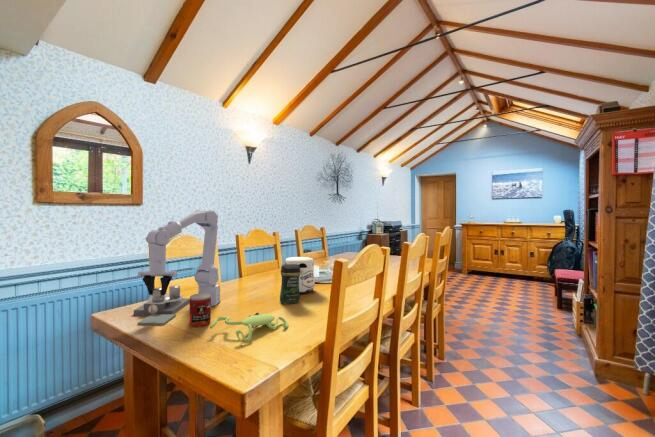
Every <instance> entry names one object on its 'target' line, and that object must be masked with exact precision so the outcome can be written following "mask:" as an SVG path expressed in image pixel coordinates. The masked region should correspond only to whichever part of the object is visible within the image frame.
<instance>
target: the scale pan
mask: <svg viewBox="0 0 655 437" xmlns="http://www.w3.org/2000/svg"><path fill="white" fill-rule="evenodd" d="M182 298H183V294H181V293H180V298H178V299H169V293H166V294H165V301H163V302H166V303H171V302H175V301H178V300H180V299H182ZM147 302H152V296H150V297H148V298H147Z"/></svg>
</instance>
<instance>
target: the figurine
mask: <svg viewBox="0 0 655 437" xmlns="http://www.w3.org/2000/svg"><path fill="white" fill-rule="evenodd" d="M275 318H276V317H275V316H274V315H272V314H266V313H263V314H260V312H256V313H254V314H251V315H249V316H248V317H245V318H244V319H243V320H240V321H239V320H238V321H237V320H236V321H230V317H228V316H220V317H217V318H214V320H213V322H212V324H210V325H209V329H211V330H212V329H213V328H214V327H215V326H216V324H217V323H218V322H220V321H224V324H226V325H228V326H239V325H240V326H241V325H243V326H245V327H248V336H247V337H245V335H244V334H243V332H242V331H241V330H240V329H238V330H236V331H235V335H236V337H237V340H239V342H240V344H241V346H243V343H242V341H241V338H240V335H241V336H242V338H243V340H244V342H246V343H247V342H249V341H251V339H252V335H253V330H254V331H255V330H257V329H258V327H260V326H261V327H264V326H267V327H268V328H269V329H271V330H273V329H276V328H277V326H278V324H279V320H280V321H281V322H283V324H282V325H281V327H282V328H283V329H287V328H288V327H289V323H288V321H287V320H286V319H285V318H284V317H283V316H278V317H277V318H276V320H275ZM274 320H275V323H274V325H272V322H273V321H274ZM239 334H240V335H239Z"/></svg>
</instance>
